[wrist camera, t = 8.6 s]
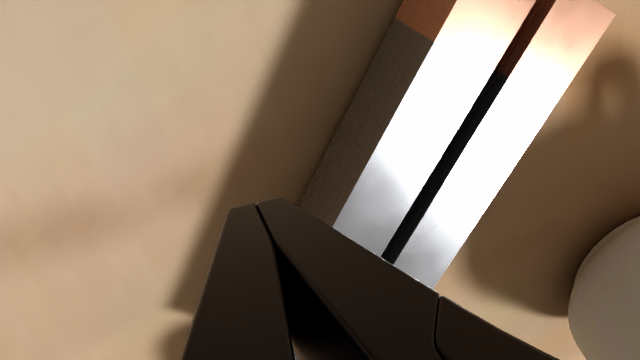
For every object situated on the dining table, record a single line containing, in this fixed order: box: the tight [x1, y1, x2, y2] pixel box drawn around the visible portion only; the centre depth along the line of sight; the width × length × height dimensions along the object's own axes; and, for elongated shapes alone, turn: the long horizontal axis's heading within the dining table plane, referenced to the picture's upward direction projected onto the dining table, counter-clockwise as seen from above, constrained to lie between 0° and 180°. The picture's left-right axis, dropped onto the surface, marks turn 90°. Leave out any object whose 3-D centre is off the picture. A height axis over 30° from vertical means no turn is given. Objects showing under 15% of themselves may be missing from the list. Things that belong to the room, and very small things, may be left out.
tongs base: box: [380, 0, 615, 289], centre depth 20 cm, size 23×5×4 cm, turn 154°
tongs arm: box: [293, 0, 536, 360], centre depth 18 cm, size 17×2×3 cm, turn 154°
